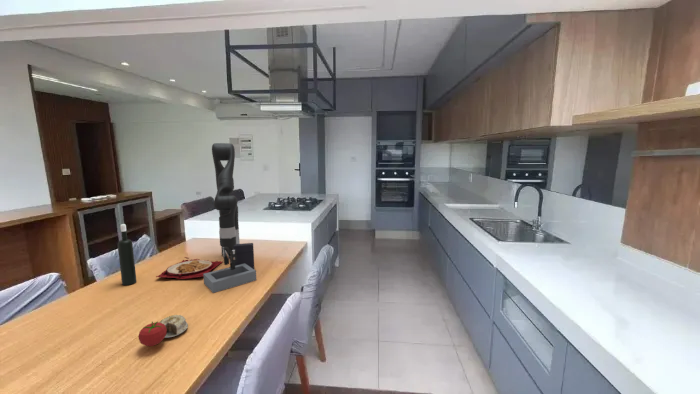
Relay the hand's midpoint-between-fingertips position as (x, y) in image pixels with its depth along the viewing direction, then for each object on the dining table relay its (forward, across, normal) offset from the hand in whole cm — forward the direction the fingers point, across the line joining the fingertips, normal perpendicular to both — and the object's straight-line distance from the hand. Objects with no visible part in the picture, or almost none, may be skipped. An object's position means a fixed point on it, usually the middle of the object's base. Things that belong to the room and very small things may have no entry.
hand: (229, 267), depth 145 cm
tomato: (+8, +32, -37) cm, 50 cm away
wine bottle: (+8, -33, -38) cm, 51 cm away
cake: (+8, +27, -31) cm, 42 cm away
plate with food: (+14, -22, -13) cm, 30 cm away
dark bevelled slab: (+8, -10, +11) cm, 17 cm away
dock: (+8, 0, 0) cm, 8 cm away
